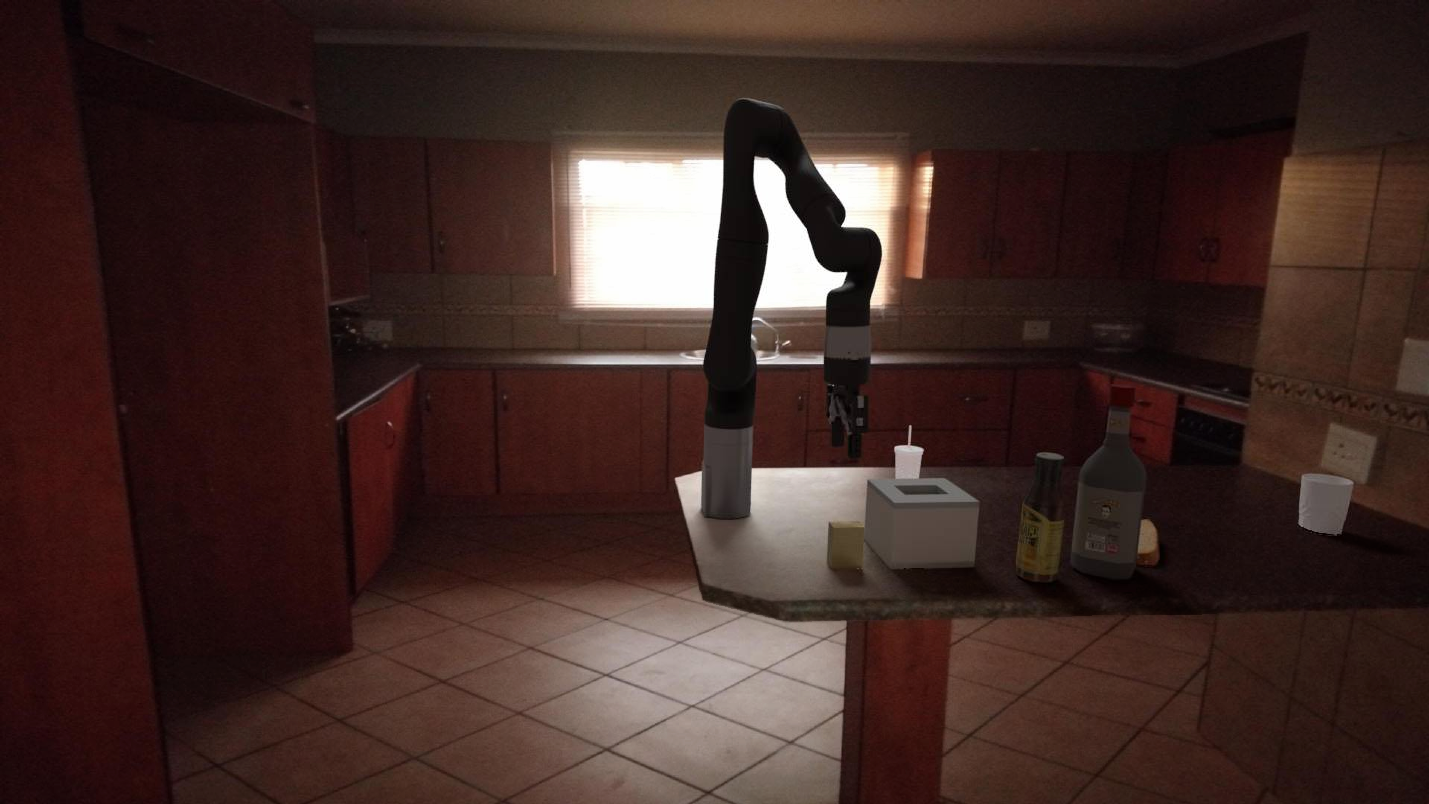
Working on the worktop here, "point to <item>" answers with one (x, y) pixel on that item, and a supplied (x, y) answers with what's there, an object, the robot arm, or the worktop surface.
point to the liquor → (1110, 498)
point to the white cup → (1324, 502)
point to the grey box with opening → (921, 523)
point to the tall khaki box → (845, 545)
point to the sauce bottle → (1042, 522)
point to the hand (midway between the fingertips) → (845, 452)
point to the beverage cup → (908, 460)
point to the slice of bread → (1148, 544)
